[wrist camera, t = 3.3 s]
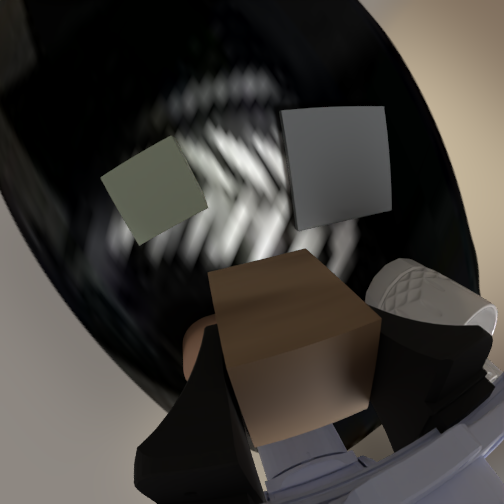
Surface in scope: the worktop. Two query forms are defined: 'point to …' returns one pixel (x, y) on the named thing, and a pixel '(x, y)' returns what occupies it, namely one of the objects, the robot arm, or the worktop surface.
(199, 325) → the brown rounded disc
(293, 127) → the plate
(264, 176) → the worktop surface
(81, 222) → the worktop surface
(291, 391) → the walnut block
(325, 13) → the worktop surface
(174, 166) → the sage cube
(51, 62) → the worktop surface
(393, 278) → the white cup
